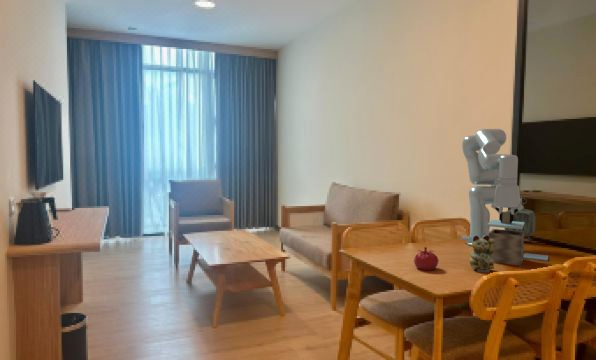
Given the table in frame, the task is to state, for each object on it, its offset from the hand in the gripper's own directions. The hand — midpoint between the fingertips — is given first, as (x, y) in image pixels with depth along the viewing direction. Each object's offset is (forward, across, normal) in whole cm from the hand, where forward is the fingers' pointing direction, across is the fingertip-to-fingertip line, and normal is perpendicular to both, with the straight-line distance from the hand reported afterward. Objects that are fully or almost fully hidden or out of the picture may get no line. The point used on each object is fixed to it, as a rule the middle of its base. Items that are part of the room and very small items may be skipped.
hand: (506, 222), depth 187 cm
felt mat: (+18, +12, +13) cm, 25 cm away
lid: (+1, 0, 0) cm, 1 cm away
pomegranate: (+17, -26, -34) cm, 46 cm away
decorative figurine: (+17, -6, -24) cm, 30 cm away
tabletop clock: (+19, +2, +51) cm, 54 cm away
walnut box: (+18, 0, -1) cm, 18 cm away
